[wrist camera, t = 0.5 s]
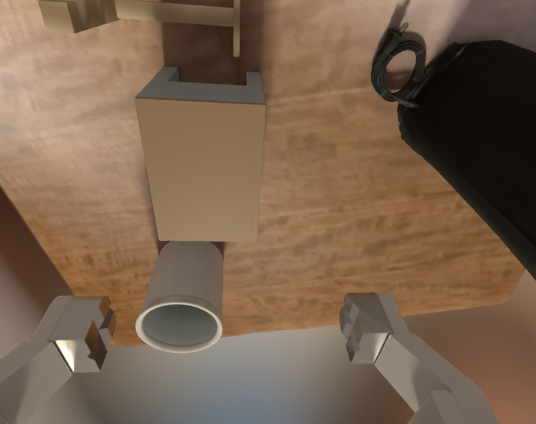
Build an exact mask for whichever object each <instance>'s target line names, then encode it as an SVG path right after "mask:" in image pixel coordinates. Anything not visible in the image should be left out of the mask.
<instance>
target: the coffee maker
mask: <svg viewBox="0 0 536 424" xmlns="http://www.w3.org/2000/svg"><path fill="white" fill-rule="evenodd" d="M408 25H409V24H408V23H406V22H405V23H404V24H403V25H402V26H401V28H400V29H399V30H398V31H396V30H394V29H391V28H389V34H388V36H387V38H386V40H385V42H384V44H382V48H381V50H380V51H379V53H378V54H377V57H378V58H377V60H376V62H375V64H374V66H373V68H372V72H371V81H372V84H373V87H374V89H375V90H376V92H377V93H378V94H379V95H380V96H381V97H382V98H383V99H384V100H386V101H389V102H394V101H398V102H399V107H398V109H397V111H398V121H399V122H400V125H399V130H400V132H401V134H402V135H401V137H402V139H403V140H404V141H405V142H406V143H407V144H408V145H409V146H410V147H411V148H412V149H413V150H414V151H416V152H417V153H418V154H419V155H421V156H422V157H423V158H424V159H425V160H426V161H427V162H428V163H430V164H431V165H432V166H433V167H434V168H435V169H436V170H437V171H438V172H439V173H440V174H441V175H442V176H443V177H444V178H445V179H446V181H447V182H448V183H449V184H450V185H451V186H452V187H453V188H454V189H455V190H456V191H457V192H458V193H459V194H460V196H461V197H462V198H463V199H464V200H465V201H466V202H467V203H468V204H469V205H470V206H471V207H472V208H473V209H474V210H475V211H476V213H477V214H478V215H479V216H480V217H481V218H482V219H483V220H484V221H485V222H486V223H487V224H488V225H489V227H490V228H491V229H492V230H493V231H494V232H495V233H496V234H497V235H498V236H499V237H500V239H501V240H502V241H503V242H504V243H505V244H506V246H507V247H508V248H509V249H510V250H511V252H512V253H513V254H514V255H515V256H516V258H517V259H518V260H519V261H520V262H521V263H522V265H523V266H524V267H525V268H526V269H527V270H528V272H529V273H530V274H531V275H532V276H533V278H534V279H535V280H536V52H534V51H531V50H528V49H525V48H521V47H519V46H516V45H513V44H510V43H507V42H505V41H501V40H492V41H481V42H473V43H465V44H457V43H456V42H454V43H452V44H451V45H450V46H449V47H447V49H446V50H445V51H444V52H443V53H442V54H441V55H440V56H439V57H438V58H436V60H435V61H434V62H433V63H432V64H431V65H430V66H429V67H428V68H427V69H426V70H425V72H424V68H425V61H426V58H425V51H424V49H423V47H422V46H421V45H420V44H419V43H417V42H415V41H411V40H406V41H404V39H403V38H402V36H401V35H402V33H403V32H404V31H405V30H406V28H407V27H408ZM400 41H402V42H400ZM405 50H411V51H413V52H415V54H416V66H415V71H414V73H413V76H412V78H411V80H410V81H409V83H408V84H407V85H406V86H405V87H404V88H403V89H401V90H400V91H398V92H396V93H392V92H390V91H389V90H388V89H387V88H386V87H385V85H384V80H383V77H384V72H385V69H386V66H387V65H388V63H389V61H390V60H391V59H392V58H393V57H394V56H395V55H397V54H398V53H400V52H402V51H405ZM423 72H424V73H423Z"/></svg>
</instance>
